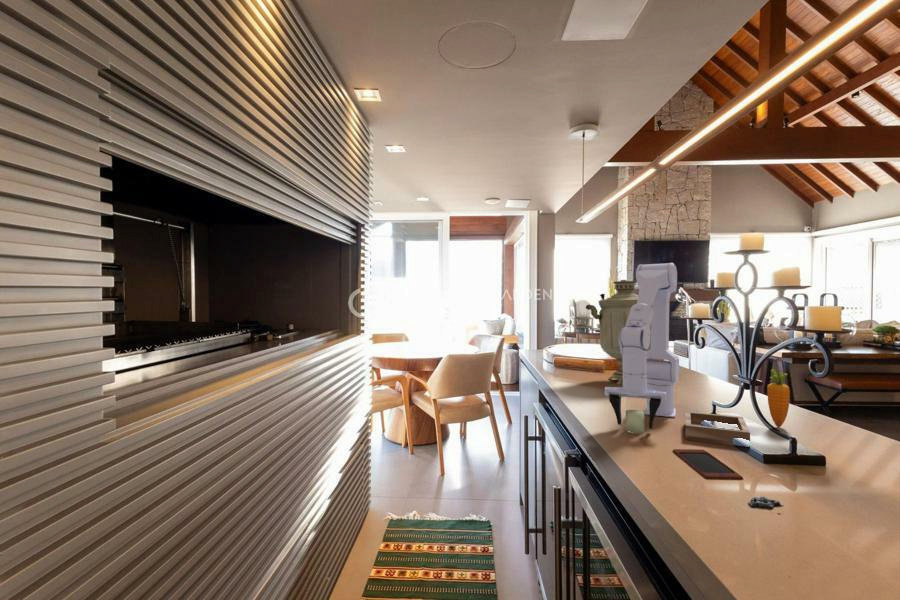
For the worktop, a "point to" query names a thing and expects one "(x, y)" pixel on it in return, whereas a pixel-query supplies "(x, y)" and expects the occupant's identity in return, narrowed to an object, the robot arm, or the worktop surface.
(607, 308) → the samovar
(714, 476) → the smartphone
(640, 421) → the green cylinder
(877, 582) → the worktop surface
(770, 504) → the blueberries
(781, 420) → the carrot
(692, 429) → the walnut tray
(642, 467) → the worktop surface
